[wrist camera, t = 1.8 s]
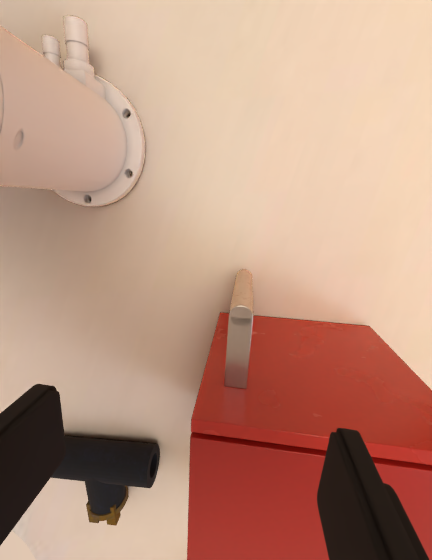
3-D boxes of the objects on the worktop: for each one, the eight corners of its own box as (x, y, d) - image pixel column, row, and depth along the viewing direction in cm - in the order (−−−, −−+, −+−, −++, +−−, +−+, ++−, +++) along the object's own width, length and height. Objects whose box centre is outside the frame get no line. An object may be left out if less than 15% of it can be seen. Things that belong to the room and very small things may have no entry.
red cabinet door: (223, 260, 31) (193, 323, 15) (381, 271, 29) (545, 357, 13) (219, 319, 33) (190, 432, 17) (367, 333, 31) (493, 474, 15)
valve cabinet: (219, 321, 33) (190, 437, 17) (366, 335, 31) (494, 480, 15) (215, 403, 36) (186, 567, 20) (347, 420, 34) (434, 614, 18)
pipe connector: (152, 535, 37) (50, 522, 39) (164, 495, 42) (74, 485, 44) (144, 468, 34) (35, 457, 36) (158, 434, 39) (62, 426, 41)
